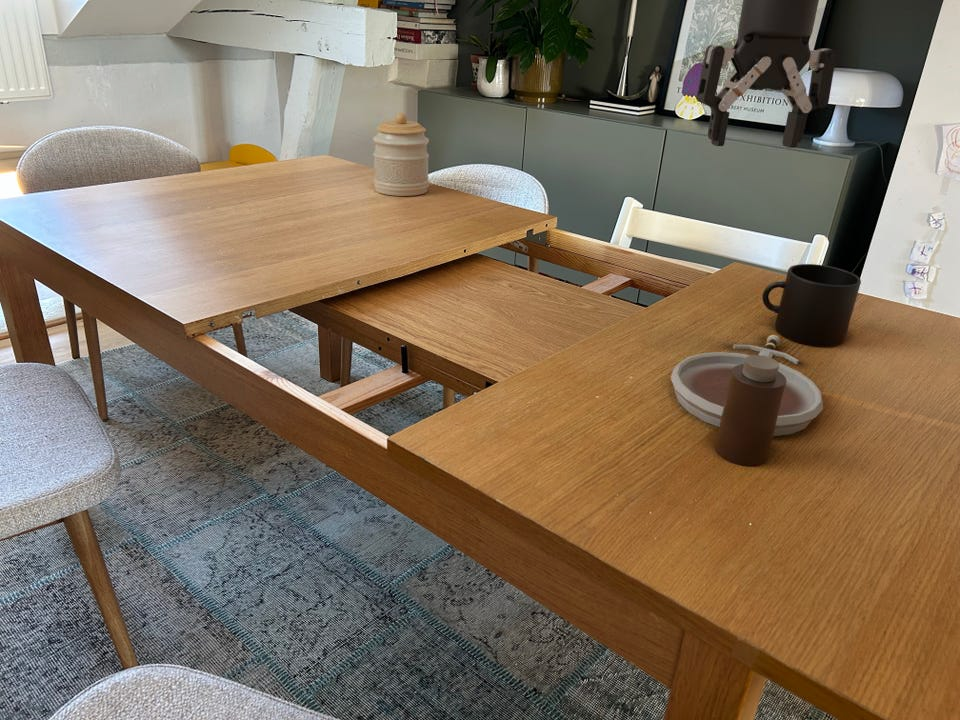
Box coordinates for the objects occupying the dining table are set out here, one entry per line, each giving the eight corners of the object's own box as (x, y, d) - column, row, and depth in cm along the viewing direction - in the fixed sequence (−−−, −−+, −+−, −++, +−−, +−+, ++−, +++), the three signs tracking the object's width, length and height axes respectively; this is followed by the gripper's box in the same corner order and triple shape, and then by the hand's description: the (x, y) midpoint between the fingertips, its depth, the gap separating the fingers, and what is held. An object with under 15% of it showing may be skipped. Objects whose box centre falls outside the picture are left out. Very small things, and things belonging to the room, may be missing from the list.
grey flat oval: (843, 344, 97) (814, 433, 75) (838, 364, 98) (807, 457, 76) (714, 315, 104) (652, 387, 82) (710, 334, 106) (649, 410, 83)
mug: (759, 313, 112) (772, 256, 108) (844, 329, 108) (861, 270, 104) (752, 335, 104) (766, 275, 100) (844, 353, 100) (861, 291, 96)
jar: (430, 185, 180) (431, 110, 173) (427, 198, 169) (428, 118, 161) (376, 183, 180) (375, 107, 172) (370, 195, 168) (369, 115, 160)
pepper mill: (770, 447, 77) (793, 358, 73) (762, 471, 73) (786, 378, 69) (720, 433, 79) (740, 346, 75) (709, 456, 75) (729, 364, 71)
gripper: (731, -17, 73) (704, 150, 80) (867, -12, 74) (829, 152, 81) (704, -15, 80) (682, 139, 87) (829, -10, 81) (797, 141, 88)
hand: (753, 145), depth 84 cm, fingers open, 8 cm apart
